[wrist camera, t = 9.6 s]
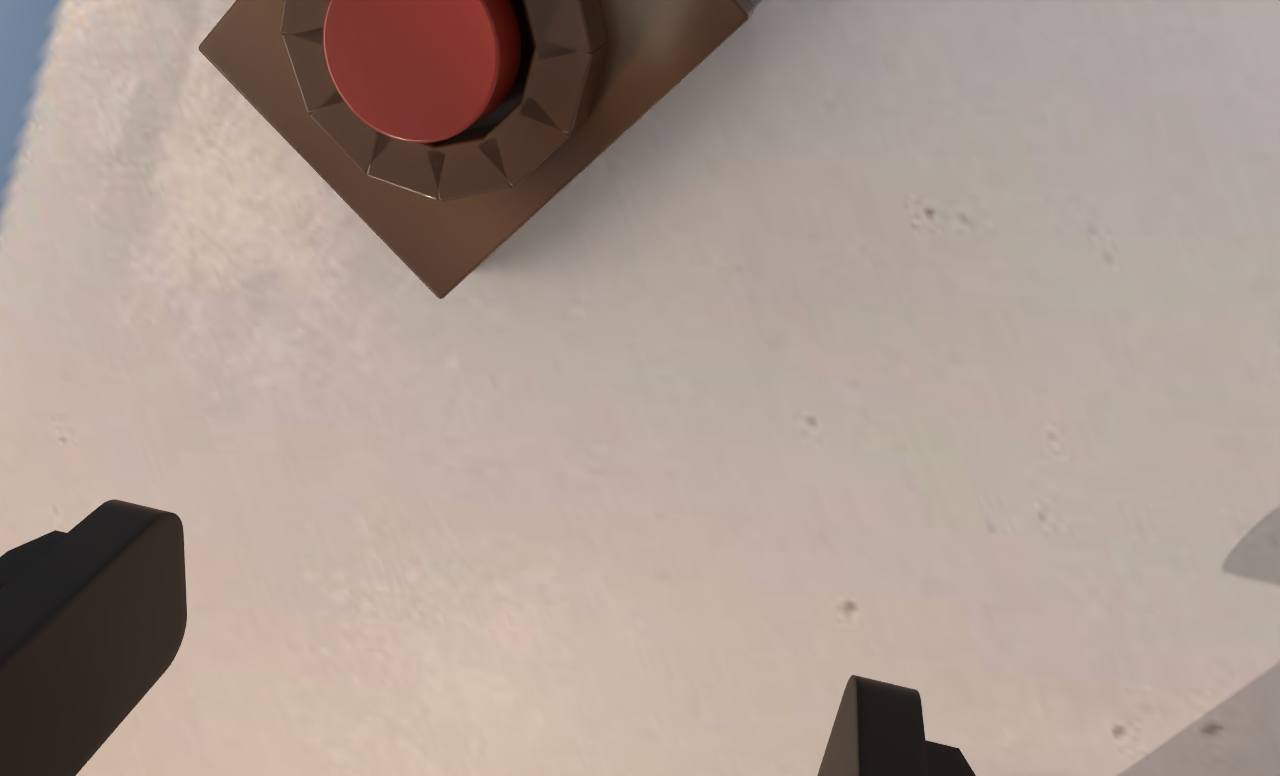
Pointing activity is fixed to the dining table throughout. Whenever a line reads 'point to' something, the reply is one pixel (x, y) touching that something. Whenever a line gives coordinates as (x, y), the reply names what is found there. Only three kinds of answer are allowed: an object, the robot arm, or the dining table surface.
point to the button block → (488, 150)
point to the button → (422, 62)
